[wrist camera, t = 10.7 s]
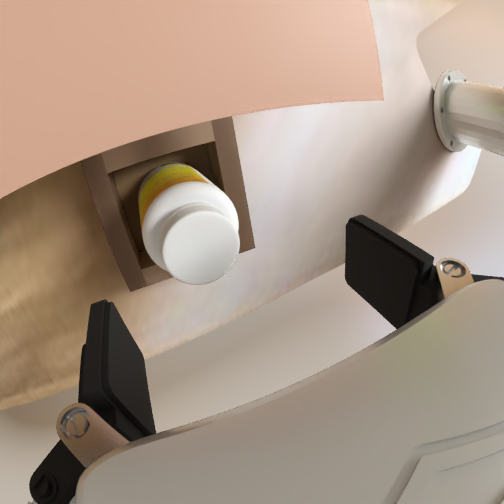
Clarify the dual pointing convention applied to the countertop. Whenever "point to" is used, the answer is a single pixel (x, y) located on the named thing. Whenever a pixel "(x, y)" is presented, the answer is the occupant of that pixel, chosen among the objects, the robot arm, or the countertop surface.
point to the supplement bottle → (188, 224)
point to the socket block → (103, 164)
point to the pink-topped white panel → (165, 70)
